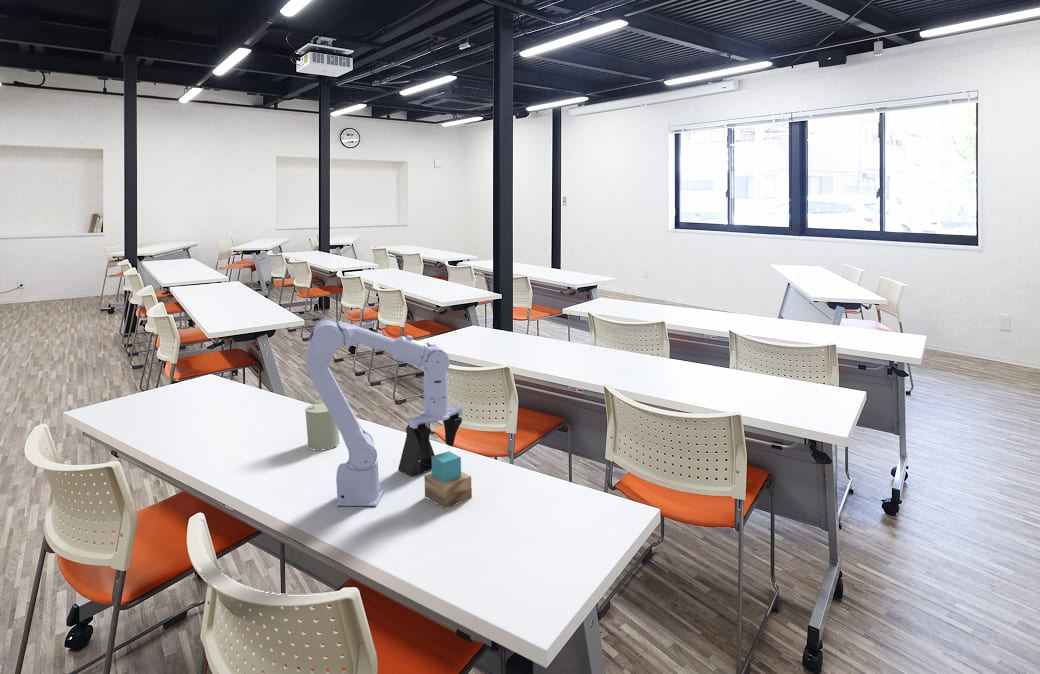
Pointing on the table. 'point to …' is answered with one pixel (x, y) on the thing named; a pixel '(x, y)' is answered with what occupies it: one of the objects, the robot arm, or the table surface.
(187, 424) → the table surface
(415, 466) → the phone stand
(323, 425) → the can
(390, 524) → the table surface
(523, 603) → the table surface
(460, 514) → the table surface
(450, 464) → the teal cube
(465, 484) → the tower top
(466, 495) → the tower base
